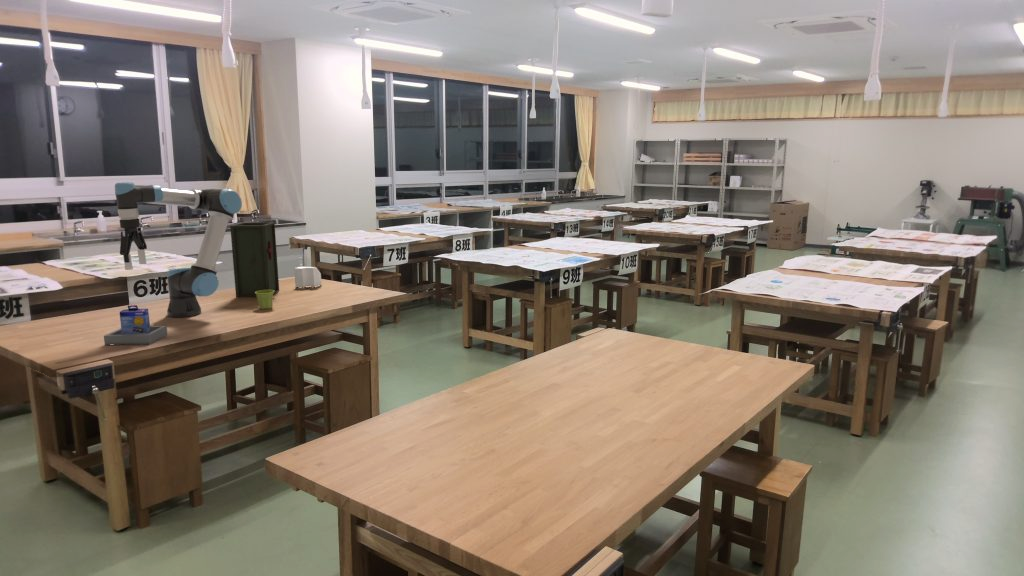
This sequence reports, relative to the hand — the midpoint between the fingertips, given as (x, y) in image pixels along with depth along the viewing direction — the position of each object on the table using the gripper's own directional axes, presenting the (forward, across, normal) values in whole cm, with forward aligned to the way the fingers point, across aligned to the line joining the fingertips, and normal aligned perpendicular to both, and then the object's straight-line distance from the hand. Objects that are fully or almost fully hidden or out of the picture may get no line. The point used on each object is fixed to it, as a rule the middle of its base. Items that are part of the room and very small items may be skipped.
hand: (136, 266), depth 294 cm
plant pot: (+31, -42, +42) cm, 67 cm away
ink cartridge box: (+28, +18, +4) cm, 33 cm away
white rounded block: (+33, -101, +52) cm, 118 cm away
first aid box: (+32, -80, +28) cm, 91 cm away
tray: (+28, +18, +4) cm, 34 cm away
